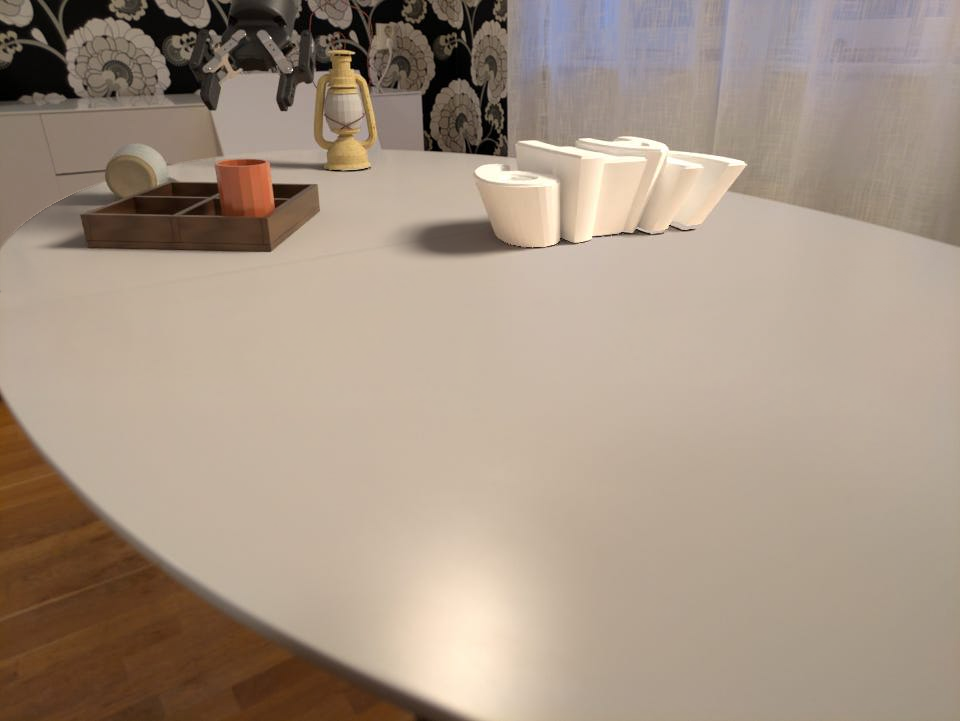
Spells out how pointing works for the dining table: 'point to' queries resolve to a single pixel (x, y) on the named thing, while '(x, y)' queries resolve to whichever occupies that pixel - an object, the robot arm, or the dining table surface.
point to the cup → (245, 187)
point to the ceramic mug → (136, 170)
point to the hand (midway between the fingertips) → (245, 106)
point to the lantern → (344, 111)
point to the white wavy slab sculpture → (600, 189)
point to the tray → (197, 219)
